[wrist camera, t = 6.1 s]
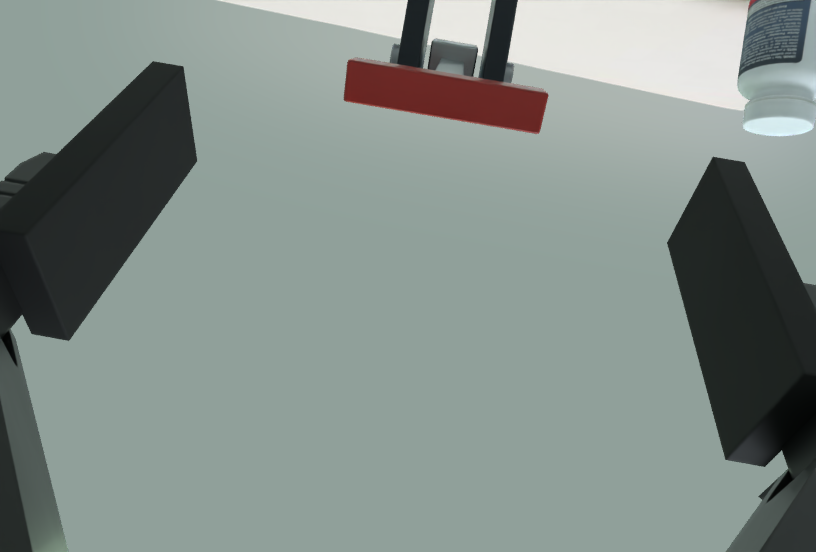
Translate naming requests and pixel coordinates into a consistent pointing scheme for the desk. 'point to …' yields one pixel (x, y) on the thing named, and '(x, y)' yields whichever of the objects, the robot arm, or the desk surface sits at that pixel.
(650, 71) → the desk surface
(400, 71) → the lever
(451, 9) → the desk surface
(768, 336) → the robot arm
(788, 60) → the pill bottle
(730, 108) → the desk surface
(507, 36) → the bracket
